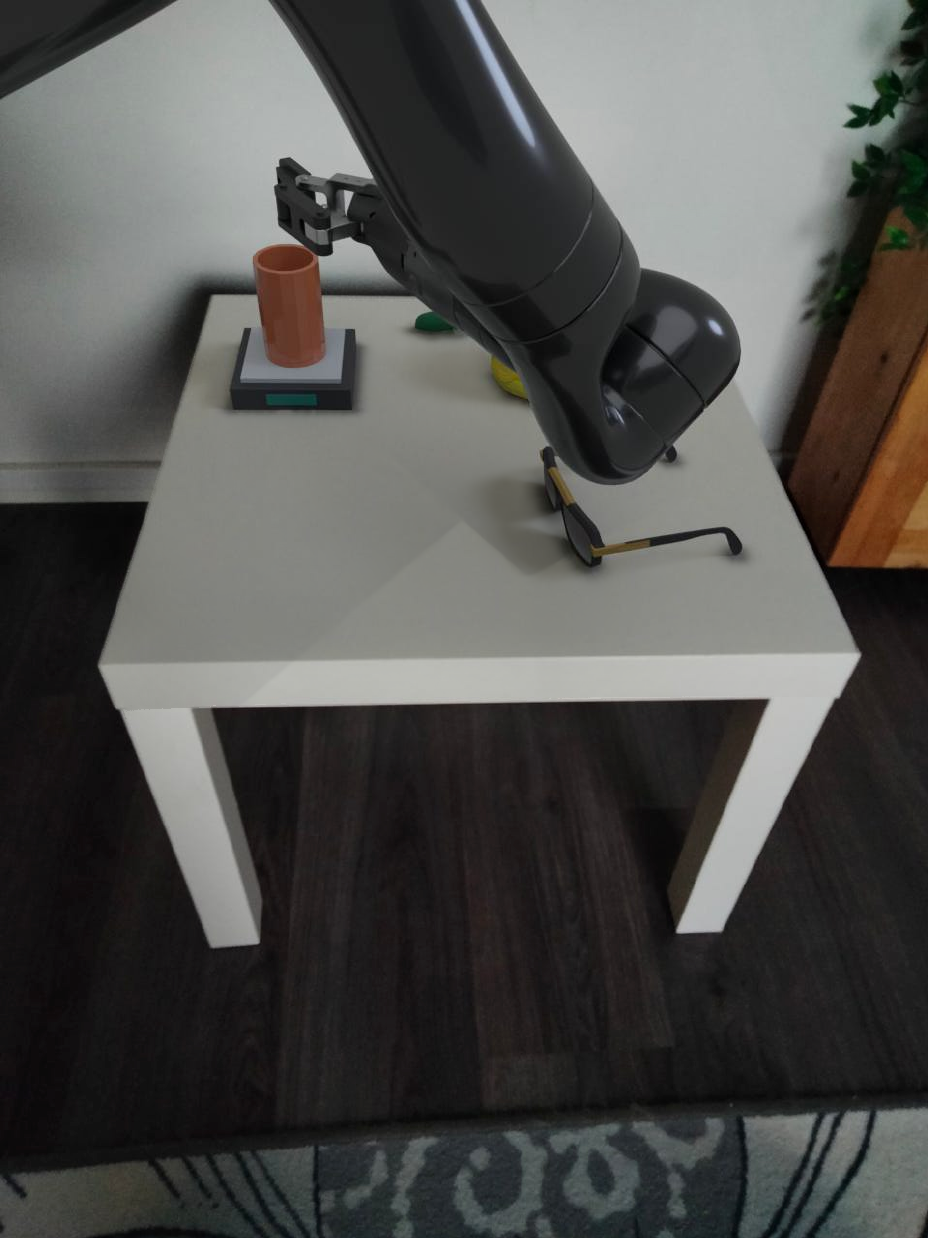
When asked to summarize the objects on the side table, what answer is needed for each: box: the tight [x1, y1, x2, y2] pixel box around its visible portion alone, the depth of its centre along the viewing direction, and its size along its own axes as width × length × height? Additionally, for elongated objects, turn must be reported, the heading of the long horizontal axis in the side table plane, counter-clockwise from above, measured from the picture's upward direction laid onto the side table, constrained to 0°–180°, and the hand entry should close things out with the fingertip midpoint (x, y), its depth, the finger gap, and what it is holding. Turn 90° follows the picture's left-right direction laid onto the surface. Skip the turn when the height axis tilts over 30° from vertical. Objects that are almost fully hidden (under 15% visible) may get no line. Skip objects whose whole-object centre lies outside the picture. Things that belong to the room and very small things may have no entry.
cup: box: [252, 243, 326, 368], centre depth 89 cm, size 6×6×10 cm
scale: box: [229, 326, 357, 411], centre depth 94 cm, size 12×12×3 cm
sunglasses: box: [539, 444, 743, 568], centre depth 80 cm, size 14×15×5 cm
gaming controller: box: [414, 310, 461, 334], centre depth 103 cm, size 9×4×6 cm
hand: (339, 161), depth 64 cm, fingers open, 8 cm apart
